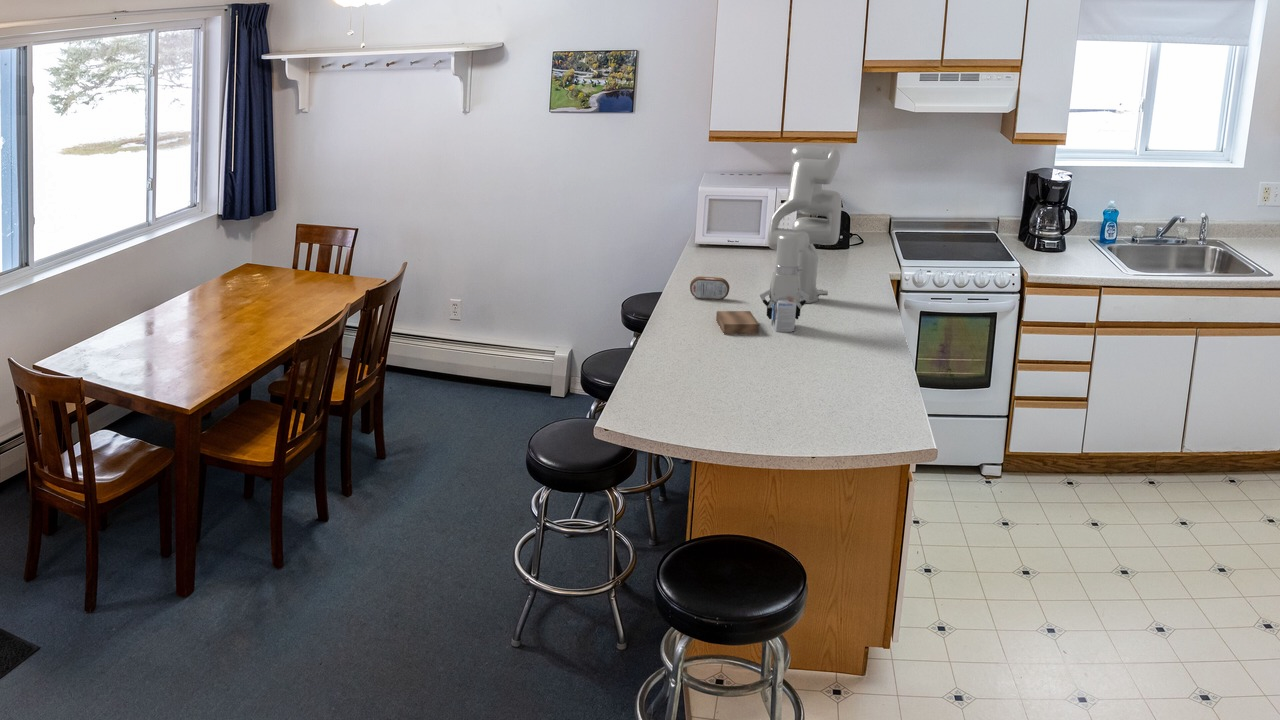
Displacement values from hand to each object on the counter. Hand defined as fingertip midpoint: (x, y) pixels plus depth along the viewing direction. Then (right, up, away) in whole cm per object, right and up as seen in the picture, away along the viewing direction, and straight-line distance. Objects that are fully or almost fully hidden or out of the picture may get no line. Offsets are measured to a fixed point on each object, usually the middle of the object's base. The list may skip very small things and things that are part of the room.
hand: (783, 318), depth 360 cm
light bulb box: (0, -3, +1) cm, 4 cm away
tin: (-23, +8, +35) cm, 43 cm away
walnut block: (-16, -4, 0) cm, 16 cm away
